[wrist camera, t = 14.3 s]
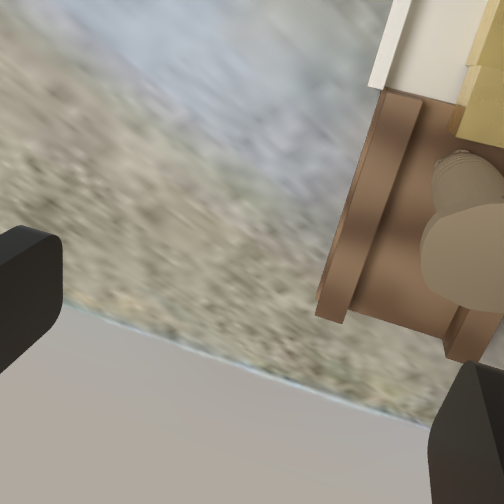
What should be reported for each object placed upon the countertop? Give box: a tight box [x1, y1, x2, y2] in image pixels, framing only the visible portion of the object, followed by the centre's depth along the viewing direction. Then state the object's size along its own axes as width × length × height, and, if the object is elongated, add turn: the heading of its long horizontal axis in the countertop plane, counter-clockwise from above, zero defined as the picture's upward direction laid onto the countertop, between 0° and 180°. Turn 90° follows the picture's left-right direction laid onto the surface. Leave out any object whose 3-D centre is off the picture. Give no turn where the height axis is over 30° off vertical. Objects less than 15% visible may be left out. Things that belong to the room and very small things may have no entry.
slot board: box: [315, 86, 504, 363], centre depth 34 cm, size 17×13×4 cm
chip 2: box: [447, 66, 504, 148], centre depth 29 cm, size 4×4×4 cm
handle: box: [419, 149, 504, 314], centre depth 26 cm, size 5×6×15 cm
